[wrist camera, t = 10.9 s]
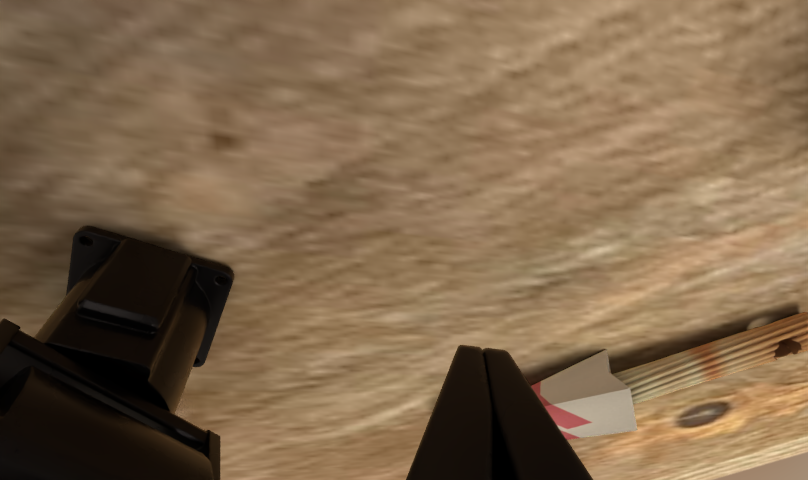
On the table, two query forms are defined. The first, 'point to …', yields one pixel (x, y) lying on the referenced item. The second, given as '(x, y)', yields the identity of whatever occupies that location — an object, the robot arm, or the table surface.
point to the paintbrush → (657, 377)
